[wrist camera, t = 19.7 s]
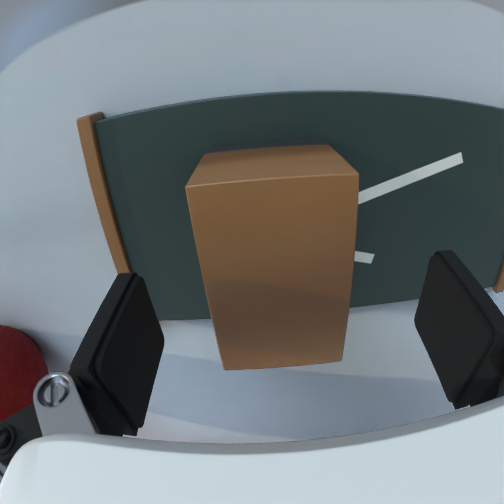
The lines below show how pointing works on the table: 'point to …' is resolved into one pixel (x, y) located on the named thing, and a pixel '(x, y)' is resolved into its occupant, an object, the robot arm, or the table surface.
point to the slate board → (344, 143)
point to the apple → (18, 370)
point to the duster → (276, 249)
